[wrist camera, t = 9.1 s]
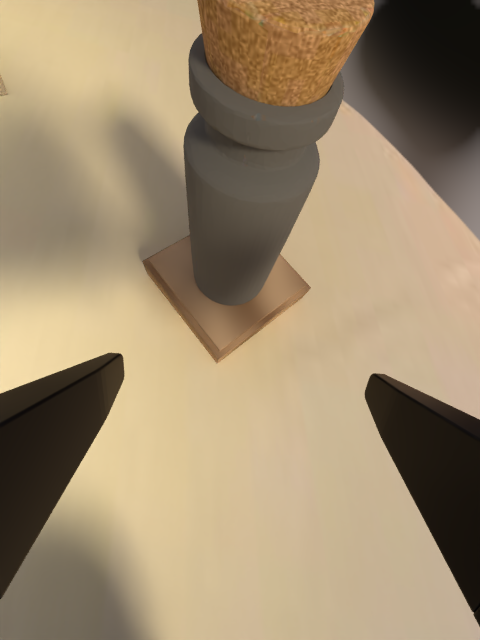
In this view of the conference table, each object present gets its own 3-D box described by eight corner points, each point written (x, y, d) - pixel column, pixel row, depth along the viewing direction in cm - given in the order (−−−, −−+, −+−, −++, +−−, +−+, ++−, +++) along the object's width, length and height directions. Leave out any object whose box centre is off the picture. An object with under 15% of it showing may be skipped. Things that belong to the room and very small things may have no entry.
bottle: (191, 243, 21) (164, -103, 7) (259, 242, 22) (363, -62, 8) (195, 308, 19) (169, 24, 5) (269, 304, 20) (430, 57, 6)
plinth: (217, 363, 20) (218, 357, 18) (147, 273, 22) (140, 257, 20) (302, 297, 23) (313, 285, 21) (235, 223, 25) (238, 204, 23)
